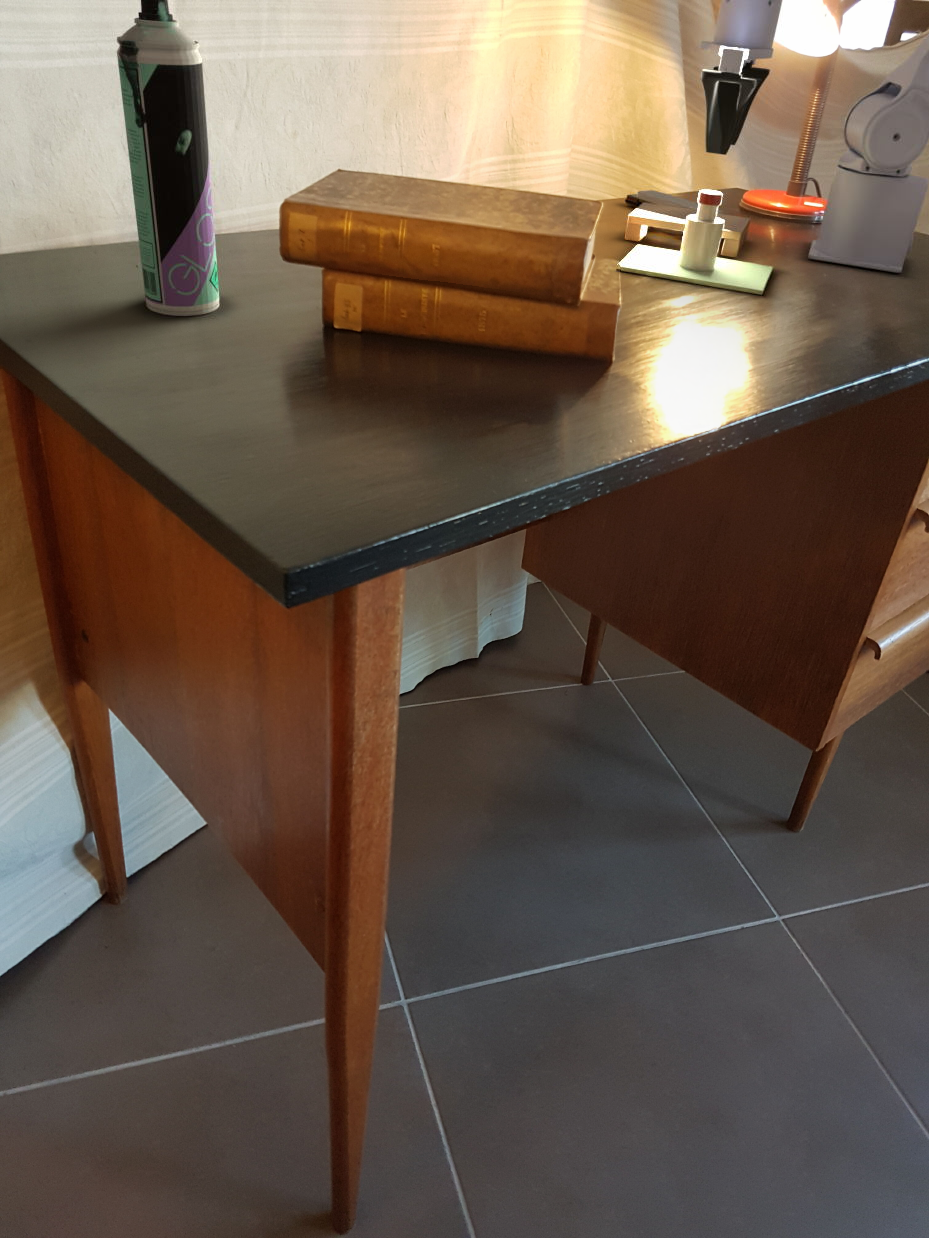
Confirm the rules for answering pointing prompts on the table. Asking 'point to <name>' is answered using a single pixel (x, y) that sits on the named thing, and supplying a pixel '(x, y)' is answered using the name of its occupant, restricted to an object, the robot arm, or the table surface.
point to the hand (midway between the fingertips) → (720, 148)
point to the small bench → (676, 220)
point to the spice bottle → (702, 234)
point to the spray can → (169, 162)
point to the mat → (721, 276)
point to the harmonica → (661, 200)
